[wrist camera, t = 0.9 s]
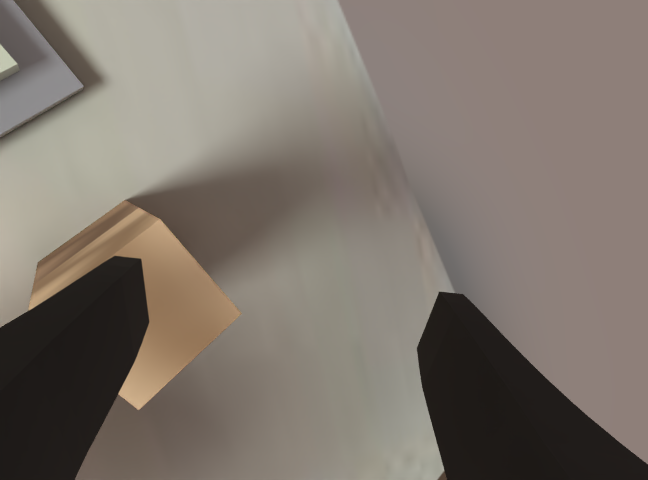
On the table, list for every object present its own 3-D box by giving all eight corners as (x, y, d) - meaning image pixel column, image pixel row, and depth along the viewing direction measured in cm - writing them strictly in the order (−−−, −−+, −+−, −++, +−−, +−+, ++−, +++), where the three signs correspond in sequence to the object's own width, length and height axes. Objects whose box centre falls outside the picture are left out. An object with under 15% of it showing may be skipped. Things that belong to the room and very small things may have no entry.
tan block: (111, 327, 20) (138, 410, 13) (38, 262, 18) (25, 321, 11) (184, 267, 21) (241, 313, 15) (125, 200, 19) (159, 219, 12)
